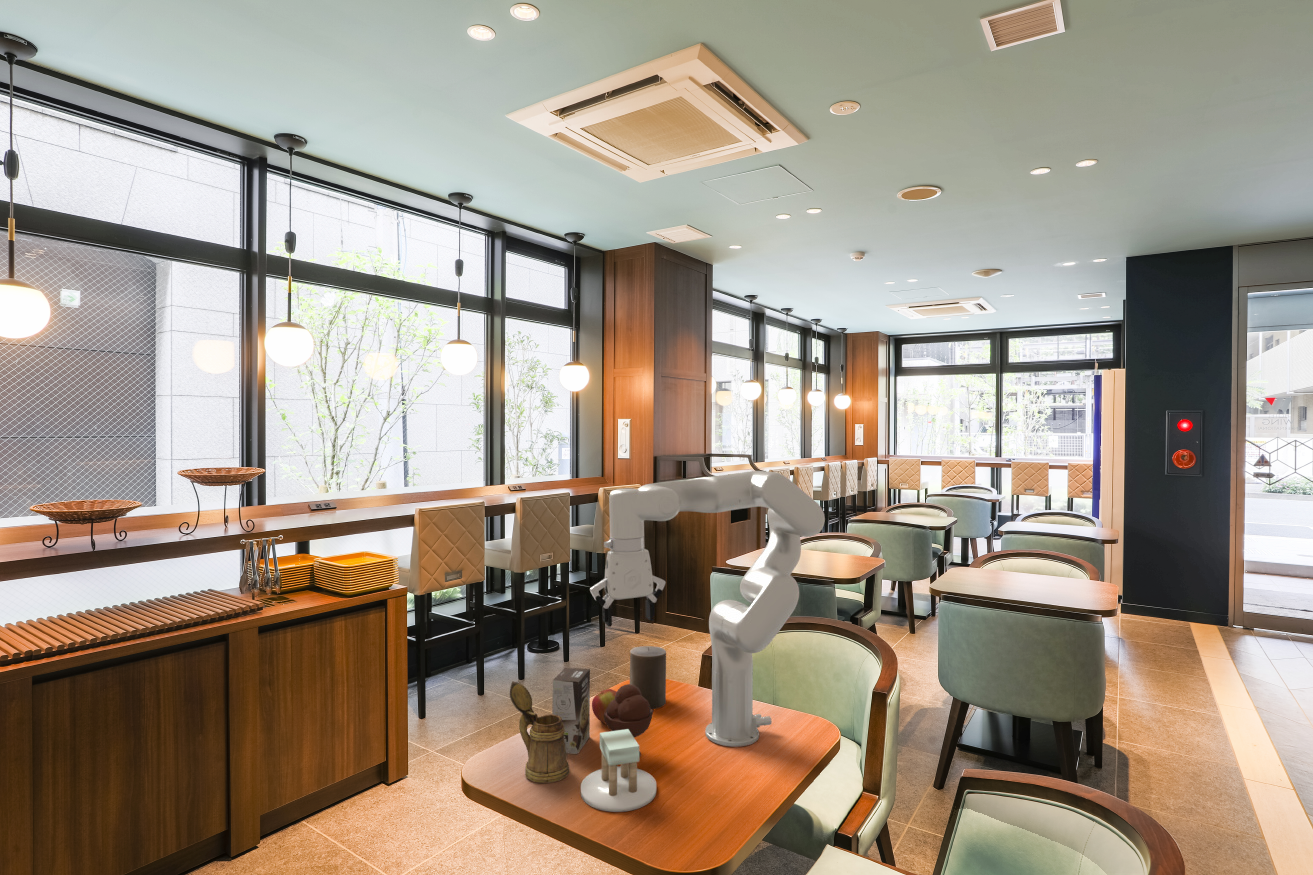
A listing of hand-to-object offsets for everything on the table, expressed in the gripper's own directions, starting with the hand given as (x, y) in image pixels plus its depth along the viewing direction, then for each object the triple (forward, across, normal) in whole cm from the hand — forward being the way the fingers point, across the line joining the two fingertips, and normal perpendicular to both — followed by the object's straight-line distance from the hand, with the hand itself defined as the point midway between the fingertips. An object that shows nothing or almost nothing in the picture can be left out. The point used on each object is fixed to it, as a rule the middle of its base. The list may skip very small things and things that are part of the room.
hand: (629, 622), depth 148 cm
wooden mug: (+29, -21, 0) cm, 36 cm away
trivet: (+29, -8, -14) cm, 33 cm away
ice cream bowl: (+30, -1, 0) cm, 30 cm away
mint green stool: (+28, -7, -13) cm, 32 cm away
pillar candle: (+30, +14, +26) cm, 42 cm away
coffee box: (+29, -11, +10) cm, 33 cm away
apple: (+30, 0, +18) cm, 35 cm away
